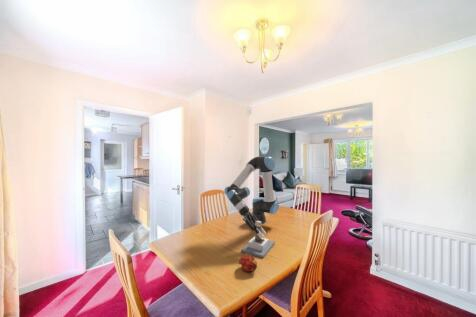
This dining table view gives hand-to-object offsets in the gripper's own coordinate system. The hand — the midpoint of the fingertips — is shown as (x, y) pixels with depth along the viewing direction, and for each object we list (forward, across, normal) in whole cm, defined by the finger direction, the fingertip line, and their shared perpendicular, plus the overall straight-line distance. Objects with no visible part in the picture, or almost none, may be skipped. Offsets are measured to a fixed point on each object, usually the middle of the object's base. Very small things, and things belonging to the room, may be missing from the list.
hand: (263, 235), depth 128 cm
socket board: (+4, 0, -9) cm, 10 cm away
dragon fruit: (+8, +26, -6) cm, 27 cm away
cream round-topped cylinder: (0, 0, -6) cm, 6 cm away
